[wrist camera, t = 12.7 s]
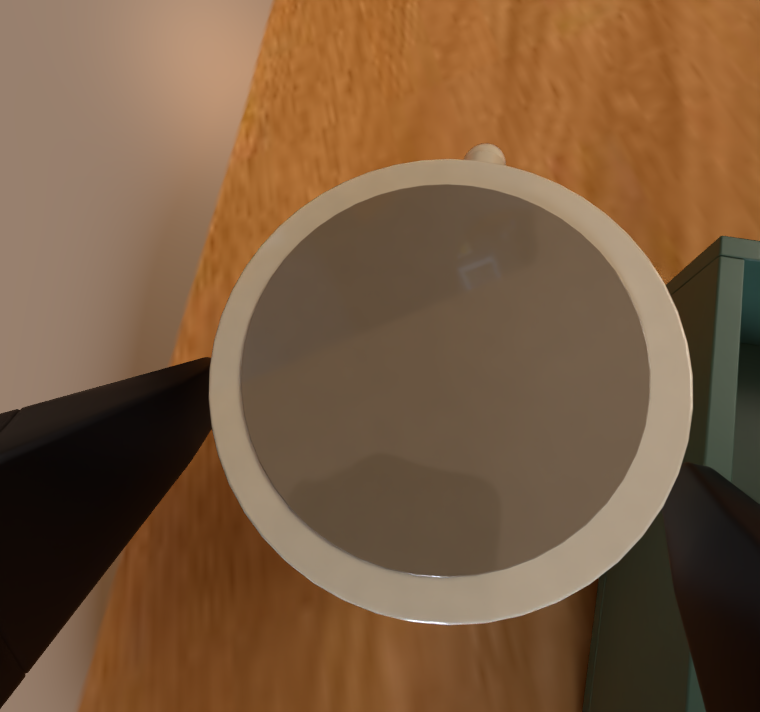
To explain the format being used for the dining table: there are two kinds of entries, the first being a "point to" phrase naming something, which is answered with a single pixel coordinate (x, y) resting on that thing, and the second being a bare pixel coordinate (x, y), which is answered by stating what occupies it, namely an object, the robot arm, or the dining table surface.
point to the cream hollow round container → (451, 391)
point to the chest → (705, 447)
